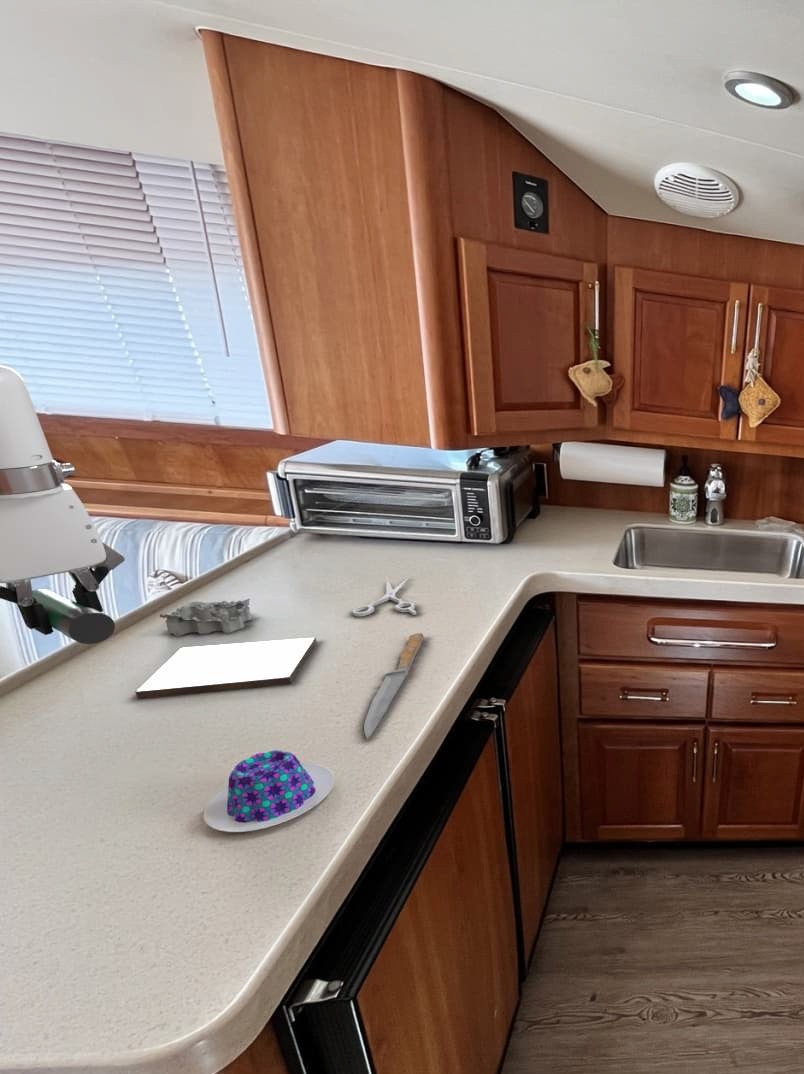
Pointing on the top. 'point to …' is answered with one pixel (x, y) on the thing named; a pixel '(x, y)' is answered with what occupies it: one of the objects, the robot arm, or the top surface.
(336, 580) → the top surface
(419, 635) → the knife
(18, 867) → the top surface
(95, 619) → the marker
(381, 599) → the scissors
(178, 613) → the egg carton
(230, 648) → the board
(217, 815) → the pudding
